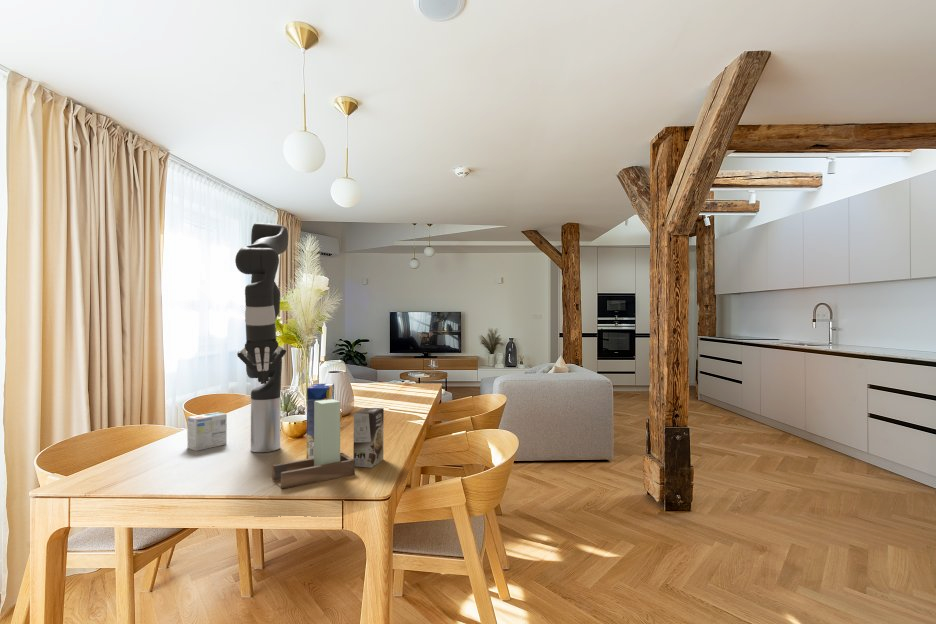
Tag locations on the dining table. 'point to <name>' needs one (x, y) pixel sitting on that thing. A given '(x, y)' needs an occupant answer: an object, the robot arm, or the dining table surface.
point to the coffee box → (368, 437)
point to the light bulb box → (207, 430)
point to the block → (326, 432)
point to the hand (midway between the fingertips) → (263, 383)
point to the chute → (310, 471)
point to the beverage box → (313, 394)
